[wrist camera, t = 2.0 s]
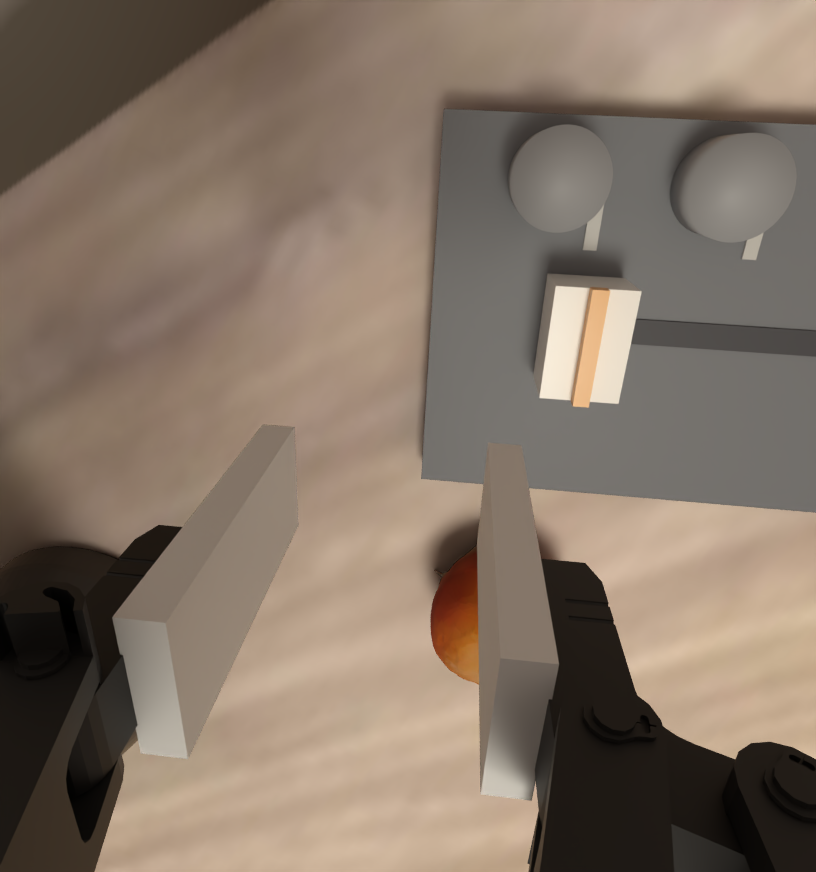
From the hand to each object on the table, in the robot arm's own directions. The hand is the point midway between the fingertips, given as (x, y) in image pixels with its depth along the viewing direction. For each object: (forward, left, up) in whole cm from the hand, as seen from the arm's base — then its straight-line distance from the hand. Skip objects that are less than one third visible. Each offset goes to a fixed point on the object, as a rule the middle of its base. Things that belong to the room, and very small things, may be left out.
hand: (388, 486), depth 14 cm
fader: (+7, 0, -17) cm, 18 cm away
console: (+15, 0, -19) cm, 24 cm away
